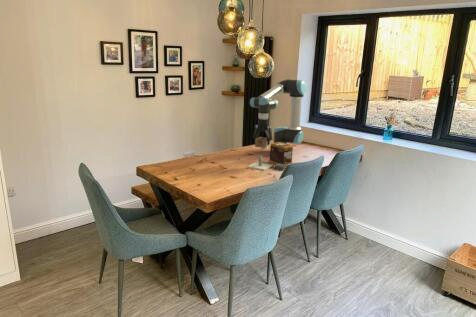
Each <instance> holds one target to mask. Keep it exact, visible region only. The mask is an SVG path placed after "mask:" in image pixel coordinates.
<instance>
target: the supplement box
mask: <svg viewBox="0 0 476 317" xmlns="http://www.w3.org/2000/svg"><path fill="white" fill-rule="evenodd" d="M293 148H294V144H293V145H292V144H290V143H289V144H288V143H287V144H285V143H281V142H277V143H274V142H272V143H271V142H270V150H269V163H272V164H275V165H276V164H278V163H280V164H285V165H286V166H289V165H288V164H290V165H292V164H293V151H294V150H293ZM291 163H292V164H291Z"/></svg>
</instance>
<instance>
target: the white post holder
mask: <svg viewBox="0 0 476 317" xmlns="http://www.w3.org/2000/svg"><path fill="white" fill-rule="evenodd" d="M272 167H273V164H269V163H264V162H263V156H262V155H259V156H258V161H255V162H253V163H252V164H250V165H248V166H247V168H248V169H253V170H258V171H262V172H263V171H264V172H265V171H267V170H269V169H270V168H272Z"/></svg>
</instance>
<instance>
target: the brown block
mask: <svg viewBox="0 0 476 317" xmlns="http://www.w3.org/2000/svg"><path fill="white" fill-rule="evenodd" d="M266 141H267V138H266V137H262V136H258V138H256V139H255V138H254V147H255V148H256V147H257V148H263V149H266ZM269 145H270V144H269ZM269 145H268V147H269Z"/></svg>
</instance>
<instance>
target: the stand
mask: <svg viewBox="0 0 476 317" xmlns="http://www.w3.org/2000/svg"><path fill="white" fill-rule="evenodd" d="M273 167H274V168H273V169H274V170H277V171H282V172H284V169H285V167H286V168H287V165H285V164H280V163H278V164H275V165H274V166H273ZM285 170H286V169H285Z"/></svg>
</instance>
